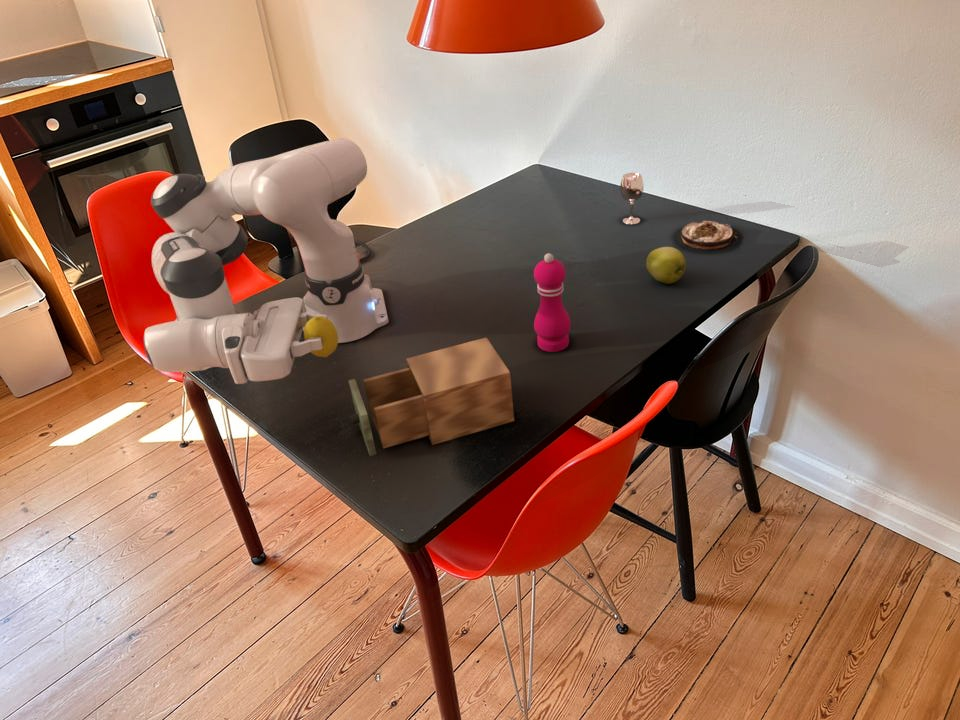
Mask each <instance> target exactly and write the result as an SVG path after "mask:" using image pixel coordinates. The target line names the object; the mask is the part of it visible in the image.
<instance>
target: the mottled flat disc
mask: <svg viewBox="0 0 960 720" xmlns="http://www.w3.org/2000/svg"><path fill="white" fill-rule="evenodd" d="M736 235H738V233H737V232H735V231H734V227H732V226H731V225H730V224H728V223H726V224H724V223H723V222H720V223H719V222H717V221H713V220H705V219H704V220H702V221H692V222H689V223H688V224H685V226H683V228H682V229H681V231H680V238H681V239H682V243H683V244H685V245H686V246H688V247H691V248H693V249H695V250H698V251H716V250H722V249H725V248H726V247H727V246H730V245H731V244H732V243H733V244H735V242H734V241H733V240H734V238H735V239H738V236H736ZM732 241H733V242H732ZM736 242H737V241H736Z"/></svg>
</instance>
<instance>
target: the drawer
mask: <svg viewBox="0 0 960 720" xmlns="http://www.w3.org/2000/svg"><path fill="white" fill-rule="evenodd" d="M362 381H363V385H364V389H365V394H366V398H367V402H368V407H369V411H370V417H371V419H372V422H373V425H374V427H375V430H376V433H377V435H378V439H379V442H380V445H381V446H382V449H387V448H390V447H393V446H397V445H401V444H404V443H407V442H411V441H414V440H418V439H422V438H425V437H428V435H430V433H429V427H428V422H427V416H426V410H425V404H424V398H423V395H422V393H421V391H420V389H419V387H418V385H417V383H416V381H415V379H414V376H413V374H412V372H411V370H410V368H408V367H405V368H402V369H397V370H394V371H390V372H387V373H384V374H380V375H379V374H378V375H375V376H372V377H367V378H364V379H363V380H362ZM347 382H348V386H349V390H350V394H351V398H352V404H353V407H354V411H355V414H351V415H350V419H351V422H352V424H353V425H356V424H358V425H359V426H358V427H359V429H360V432H361V434H362V438H363V441H364V443H365V446H366V449H367V452H368V455H369V457H373V456H376V455H377V449H376V445H375V441H374V437H373V432H372V428H371V424H370V419H369V414H368V412H367V409H366V405H365V403H364V400H363V398H362V397H363V396H362V395H361V393H360V392H361V391H360V389H359V386H358V383H357V380H356V378H352V379H349V380H348V381H347Z"/></svg>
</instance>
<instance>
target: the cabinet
mask: <svg viewBox="0 0 960 720" xmlns="http://www.w3.org/2000/svg"><path fill="white" fill-rule="evenodd" d="M405 359H406V360H405V361H406V365H407V367H406V368H410V370H411V372H412V374H413V376H414V379H415V381H416V383H417V385H418V387H419V389H420V391H421V393H422V395H423V398H424V404H425V410H426V416H427V422H428V427H429V433H430V435H428V436H427V437H428V439H429V441H430V444H431V445H432V446H434V445H437V444H440V443H444V442H448V441H451V440H454V439H457V438H461V437H464V436H469V435H471V434H474V433H478V432H483V431H485V430H489V429H492V428H495V427H499V426H503V425H505V424H509V423H512V422H515V412H514V402H513V391H512V390H513V389H512V379H511V372H510V370H509V369H508V367H507V365H506V364H505V363H504V361H503V360H502V358H501V357H500V355H499V354H498V352H497V351H496V350H495V348H494V346H493V345H492V344H491V342H490V340H489V339H488V337H483V338H479V339H475V340H472V341H471V340H470V341H468V342H464V343H460V344H456V345H453V346H449V347H445V348H440V349H437V350H434V351H430V352H426V353H422V354H417V355H415V356H411V357H406V358H405Z"/></svg>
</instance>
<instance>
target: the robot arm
mask: <svg viewBox="0 0 960 720" xmlns="http://www.w3.org/2000/svg"><path fill="white" fill-rule="evenodd" d="M367 173H368V163H367V158H366V157H365V153H364V151H362V149H361V148H360V146H359V145H358V144H357V143H355V142H354V141H352V140H351V139H348V138H345V137H343V138H335V139H331V140H330V139H329V140H326V141H321V142H318V143H313V144H310V145H306V146H303V147H299V148H296V149H293V150H290V151H289V150H288V151H286V152H282V153H280V154H277V155H274V156H273V155H272V156H270V157H265V158H260V159H255V160H250V161H246V162H241V163H237V164H235V165H232V166H230V167H228V168H226V169H224V170H223V171H221V172H220V173H219V174H218V175H216V177H215V178H213V180H211V181H206V176H204V175H202V174H199V173H197V174H195V175H193V174H190V173H174V174H172V175H171V176H168V177H166V178H165V179H163V180H162V181H161V182H160V183H159V184H158V185H156V187H155V189H154V191H153V192H152V193H151V196H150V205H151V207H152V209H153V210H154V212H155V214H157V216H158V217H159V218H160V219H163V221H165V223H166V224H167V225H168V226H169V227H170V229H171V230H172V231H173V232H168V233H165V234H163V235H161V236H159V238H158V239H157V240H156V241H155V243H154V244H153V247H152V251H151V267H152V270H153V274H154V277H155V279H156V281H157V282H158V284H159V286H160V288H161V289H162V290H163V291H164V292H165V293H166V294H168V295H169V298H170V300H171V304H172V305H173V309H174V312H175V315H176V319H175V320H172V321H167V322H163V323H158V324H154V325H151V326H148V327H146V328H145V330H144V332H143V339H142V340H143V348H144V351H145V354H146V357H147V360H148V361H149V364H150V366H151V367H152V368H153V369H154V370H156V371H159V372H162V373H188V372H202V371H206V370H208V369H211V368H222V369H229V371H230V374H231V376H232V379H233V381H234V384H236V385H244V384H246V383H248V382H249V381H250V382H268V381H274V380H281V379H284V378H286V377H287V376H289V375H290V374H291V372H292V369H293V365H294V361H295V358H297V357H298V358H299V357H303V356H304V355H306V354H309V353H311V351H314V350H321V349H322V347H323V339H322V337H321V336H317V337H315V336H314V337H311V339H310V340H307V341H300V340H301V337H302V333H303V332H304V328H305V325H306V323H307V322H308V321H309V320H310V319H312V318H314V317H315V316H320V317H325V318H327V319H329V320H330V321H331V322H332V323H333V325H334V327H335V329H336V331H337V334H338V344H344V343H350V342H353V341H357V340H359V339H360V340H361V339H363V338H364V337H366V336H368V335H370V334H371V333H372V332H374V331H375V330H377V329H379V328H381V327H384V326H386V325H387V324H389V322H390V320H389V316H388V312H387V307H386V302H385V297H384V294H383V290H382V289H380V288H378V287H372V283H371V278H370V276H369V275H368V274H366V273H364V268H363V266H362V262H364V261H367V260H369V258H370V257H371V256H372V249H371V248H370V247H369V246H368V245H367V244H366V243H364V242H362V241H361V240H355V238H354V234H353V232H352V229H351V228H350V227H349V226H348V225H347V224H346V223H344V222H342V221H341V220H337V219H333V218H331V217H330V215H329V212H328V205H330V204H332V203H334V202H335V201H338V200H340V199H341V198H343V197H345V196H347V195H349V194H350V193H351V192H352V191H354V190H355V189H356V188H357V187H358V186H359V185H360V184H361V183H362V182H363V181H364V180H365V179H366V177H367ZM235 215H237V216H238V215H239V216H248V217H249V216H252V217H253V216H263V217H264V218H265V219H267V220H268V221H270V222H272V223H274V224H277V225H280V226H282V227H283V228H285V229H286V230H287V231H288V232H289V233H290V234H291V235H292V237H293V238H294V240H295V243H296V245H297V247H298V250H299V253H300V257H301V261H302V264H303V267H304V282H305V285H306V289H307V292H306V293H305V295H303V298H301V297H299V296H298V297H297V296H295V297H288V298H282V299H277V300H276V299H275V300H272V301H268V302H266V303H263V304H262V305H261V306H260V307H259V308H258V309H256V310H254V311H253V312H243V313H237V311H236V308H235V304H234V300H233V297H232V294H231V292H230V291H231V290H230V288H229V285H228V281H227V278H226V273H225V268H224V267H225V266H229V265H230V264H233V263H234V262H236V261H237V260H238V259H239V258H240V257H241V256H242V255H243V254H244V253H245V251H246V249H247V247H248V242H249V236H248V234H247V232H246V231H245V229H244V228H243V227H242V225H241V224H240V223H238V222H237V221H236V220H235V218H234V217H233V216H235ZM357 245H359V246H361V247H363V248H364V249H365V250H366V251H367V254H366V255H365V256H363V257H360V254H359V252H357V248H356V246H357Z"/></svg>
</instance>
